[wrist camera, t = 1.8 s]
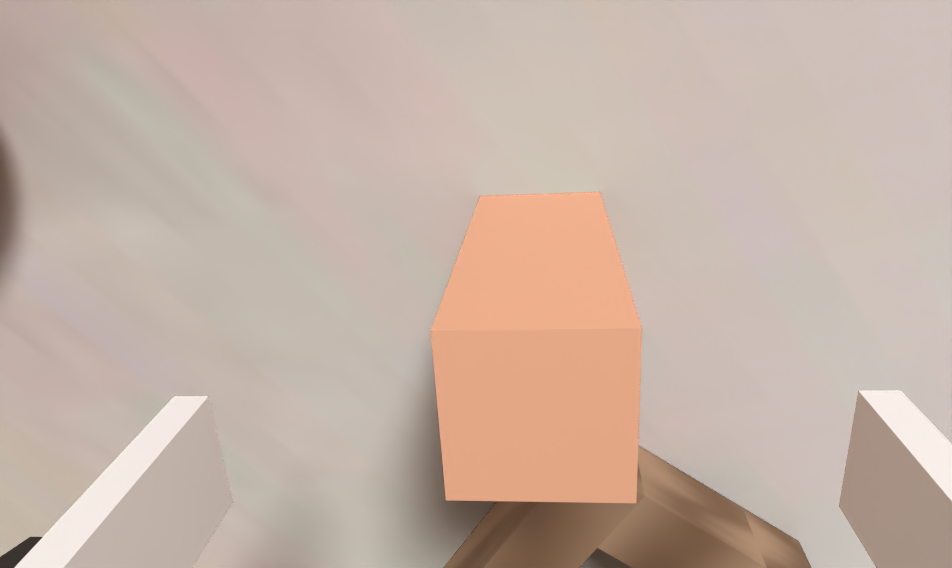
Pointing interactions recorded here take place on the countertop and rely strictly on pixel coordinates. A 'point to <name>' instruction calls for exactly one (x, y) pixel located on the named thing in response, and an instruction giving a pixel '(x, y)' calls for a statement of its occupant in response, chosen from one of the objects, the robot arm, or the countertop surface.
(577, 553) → the socket
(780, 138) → the countertop surface
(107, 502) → the robot arm
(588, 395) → the peg
